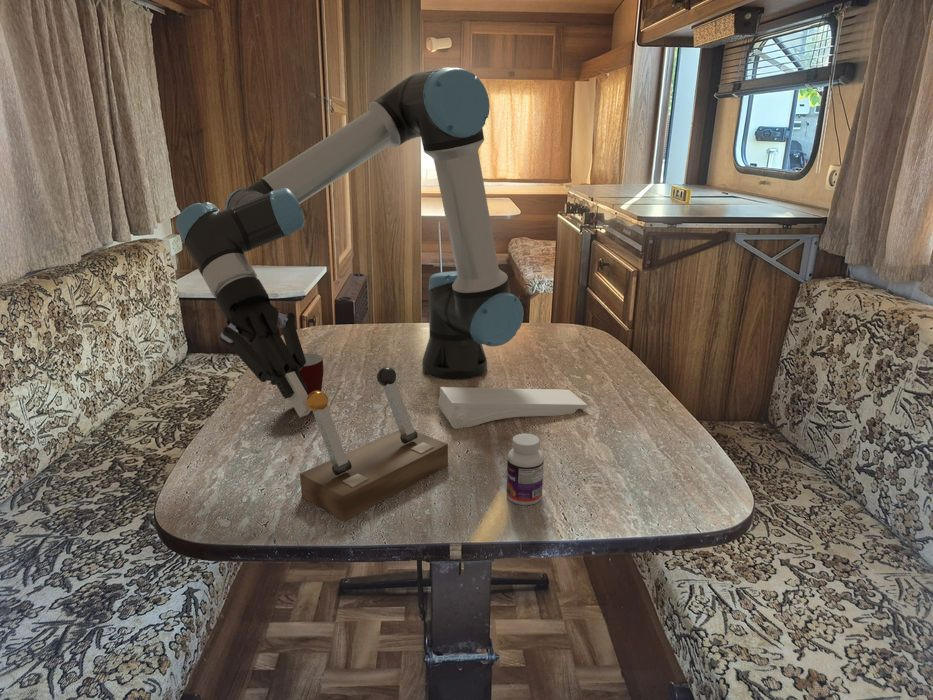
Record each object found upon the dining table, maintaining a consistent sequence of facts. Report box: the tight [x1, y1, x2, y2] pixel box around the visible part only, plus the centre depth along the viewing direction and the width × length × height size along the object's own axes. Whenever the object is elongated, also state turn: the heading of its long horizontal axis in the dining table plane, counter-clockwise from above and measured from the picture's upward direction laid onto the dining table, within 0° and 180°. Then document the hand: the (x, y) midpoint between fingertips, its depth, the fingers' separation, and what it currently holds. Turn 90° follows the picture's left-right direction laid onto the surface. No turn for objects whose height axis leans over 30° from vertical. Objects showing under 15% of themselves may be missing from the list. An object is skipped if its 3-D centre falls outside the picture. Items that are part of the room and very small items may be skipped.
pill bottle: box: [506, 432, 545, 506], centre depth 99 cm, size 5×5×10 cm
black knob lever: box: [376, 366, 418, 444], centre depth 109 cm, size 3×3×13 cm
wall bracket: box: [437, 386, 588, 430], centre depth 131 cm, size 10×7×28 cm
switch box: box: [299, 429, 449, 522], centre depth 105 cm, size 10×22×4 cm, turn 139°
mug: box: [284, 353, 325, 401], centre depth 131 cm, size 10×8×10 cm
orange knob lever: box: [306, 391, 352, 475], centre depth 99 cm, size 3×3×13 cm
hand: (307, 411), depth 101 cm, fingers closed
